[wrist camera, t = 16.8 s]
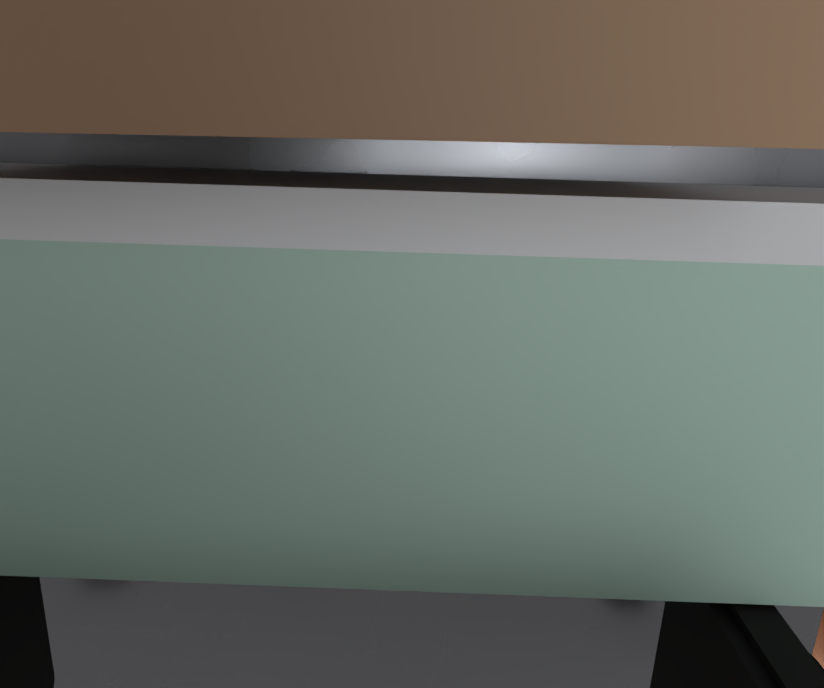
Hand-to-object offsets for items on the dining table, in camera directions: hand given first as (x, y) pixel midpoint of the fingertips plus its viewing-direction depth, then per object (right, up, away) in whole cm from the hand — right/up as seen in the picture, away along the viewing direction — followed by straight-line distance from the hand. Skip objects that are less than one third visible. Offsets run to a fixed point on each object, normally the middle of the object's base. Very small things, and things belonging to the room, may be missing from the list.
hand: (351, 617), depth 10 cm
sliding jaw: (0, +4, 0) cm, 4 cm away
